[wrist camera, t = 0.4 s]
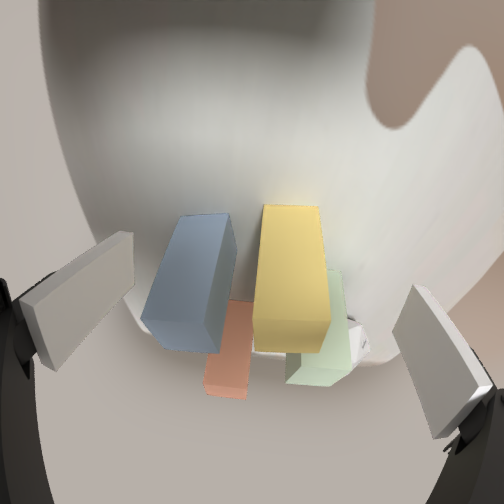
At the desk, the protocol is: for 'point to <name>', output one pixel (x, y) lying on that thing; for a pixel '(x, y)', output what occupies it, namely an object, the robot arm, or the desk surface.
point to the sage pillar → (325, 345)
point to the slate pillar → (193, 285)
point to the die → (357, 342)
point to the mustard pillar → (291, 282)
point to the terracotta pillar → (232, 354)
